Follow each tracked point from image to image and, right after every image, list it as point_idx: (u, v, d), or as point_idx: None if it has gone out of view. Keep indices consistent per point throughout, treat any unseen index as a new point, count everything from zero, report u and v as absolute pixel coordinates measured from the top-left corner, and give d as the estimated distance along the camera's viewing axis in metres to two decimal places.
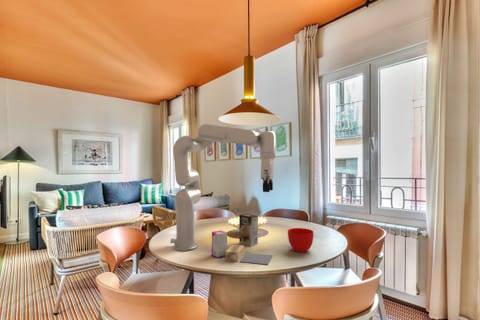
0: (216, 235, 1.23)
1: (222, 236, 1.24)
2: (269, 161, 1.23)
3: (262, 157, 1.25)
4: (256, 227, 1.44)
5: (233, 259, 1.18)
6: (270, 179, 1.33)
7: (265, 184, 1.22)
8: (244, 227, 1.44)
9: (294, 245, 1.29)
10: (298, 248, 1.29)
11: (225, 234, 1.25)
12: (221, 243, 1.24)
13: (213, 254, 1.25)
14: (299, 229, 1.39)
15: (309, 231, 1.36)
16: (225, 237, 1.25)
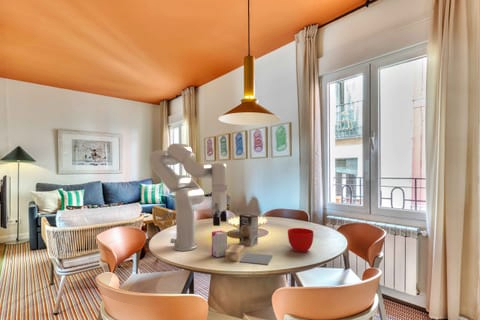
0: (216, 235, 1.23)
1: (222, 236, 1.24)
2: (219, 194, 1.22)
3: (213, 190, 1.24)
4: (256, 227, 1.44)
5: (233, 259, 1.18)
6: (224, 210, 1.32)
7: (215, 218, 1.21)
8: (244, 227, 1.44)
9: (294, 245, 1.29)
10: (298, 248, 1.29)
11: (225, 234, 1.25)
12: (221, 243, 1.24)
13: (213, 254, 1.25)
14: (299, 229, 1.39)
15: (309, 231, 1.36)
16: (225, 237, 1.25)
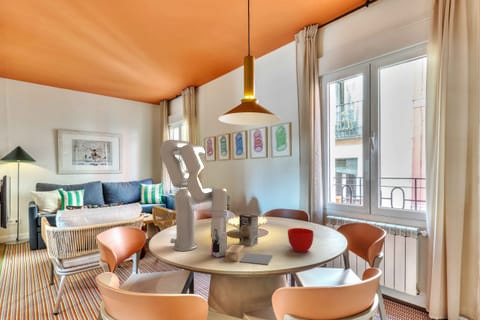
0: None
1: (222, 236, 1.24)
2: (219, 220, 1.22)
3: (213, 215, 1.24)
4: (256, 227, 1.44)
5: (233, 259, 1.18)
6: None
7: (215, 245, 1.21)
8: (244, 227, 1.44)
9: (294, 245, 1.29)
10: (298, 248, 1.29)
11: (225, 234, 1.25)
12: (221, 243, 1.24)
13: (213, 254, 1.25)
14: (299, 229, 1.39)
15: (309, 231, 1.36)
16: (225, 237, 1.25)
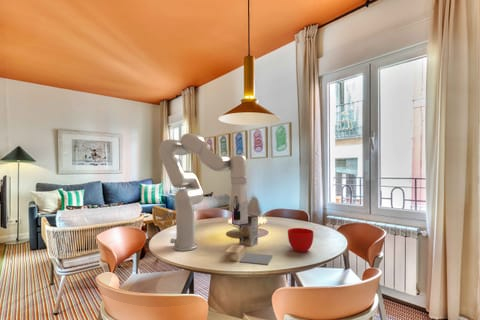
0: (237, 203, 1.21)
1: (243, 204, 1.22)
2: (239, 187, 1.20)
3: (232, 183, 1.22)
4: (256, 227, 1.44)
5: (233, 259, 1.18)
6: None
7: (235, 212, 1.19)
8: (244, 227, 1.44)
9: (294, 245, 1.29)
10: (298, 248, 1.29)
11: (245, 202, 1.23)
12: (242, 211, 1.21)
13: (234, 222, 1.22)
14: (299, 229, 1.39)
15: (309, 231, 1.36)
16: (245, 205, 1.23)
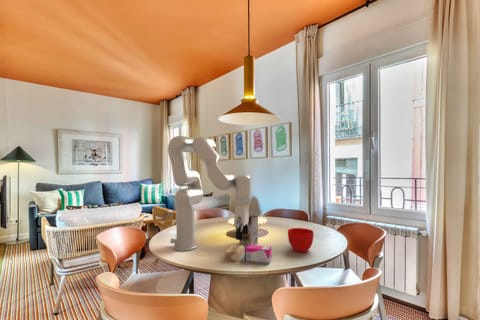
0: (267, 261, 1.15)
1: None
2: (243, 208, 1.19)
3: (236, 202, 1.21)
4: (256, 227, 1.44)
5: (233, 259, 1.18)
6: None
7: (238, 232, 1.18)
8: None
9: (294, 245, 1.29)
10: (298, 248, 1.29)
11: None
12: None
13: (246, 253, 1.17)
14: (299, 229, 1.39)
15: (309, 231, 1.36)
16: None
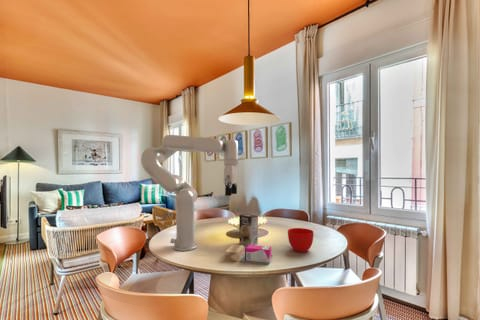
0: (267, 261, 1.15)
1: None
2: (231, 167, 1.35)
3: (225, 164, 1.37)
4: (256, 227, 1.44)
5: (233, 259, 1.18)
6: (234, 183, 1.44)
7: (227, 188, 1.33)
8: (244, 227, 1.44)
9: (294, 245, 1.29)
10: (298, 248, 1.29)
11: None
12: None
13: (246, 253, 1.17)
14: (299, 229, 1.39)
15: (309, 231, 1.36)
16: None
